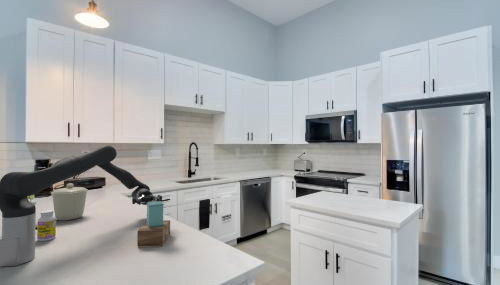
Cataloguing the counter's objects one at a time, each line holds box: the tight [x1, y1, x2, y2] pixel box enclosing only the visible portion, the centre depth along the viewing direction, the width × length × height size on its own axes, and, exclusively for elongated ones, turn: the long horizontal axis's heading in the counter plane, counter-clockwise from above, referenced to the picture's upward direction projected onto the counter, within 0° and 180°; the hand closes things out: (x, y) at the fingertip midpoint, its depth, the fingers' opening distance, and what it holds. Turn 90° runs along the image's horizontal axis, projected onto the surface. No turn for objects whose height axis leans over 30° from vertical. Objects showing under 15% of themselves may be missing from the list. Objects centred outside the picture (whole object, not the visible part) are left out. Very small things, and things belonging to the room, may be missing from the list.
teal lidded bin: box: [146, 201, 164, 228], centre depth 112 cm, size 6×6×10 cm
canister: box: [50, 182, 89, 221], centre depth 149 cm, size 18×18×21 cm
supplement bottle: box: [36, 209, 57, 242], centre depth 115 cm, size 7×7×13 cm
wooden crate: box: [136, 219, 171, 248], centre depth 112 cm, size 14×10×7 cm
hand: (149, 201), depth 122 cm, fingers open, 8 cm apart
